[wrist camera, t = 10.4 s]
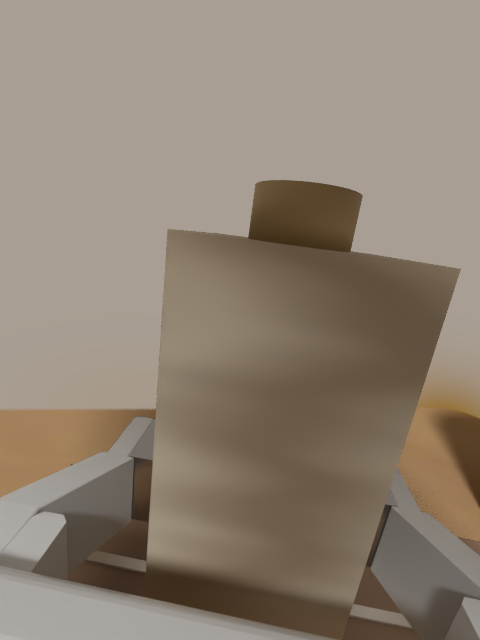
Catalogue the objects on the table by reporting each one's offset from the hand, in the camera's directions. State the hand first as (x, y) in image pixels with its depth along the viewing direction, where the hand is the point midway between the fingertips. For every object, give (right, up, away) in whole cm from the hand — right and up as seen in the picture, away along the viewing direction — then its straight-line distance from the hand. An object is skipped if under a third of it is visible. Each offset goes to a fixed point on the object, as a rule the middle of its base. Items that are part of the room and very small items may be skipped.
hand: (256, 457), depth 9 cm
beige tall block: (-1, -7, +1) cm, 7 cm away
